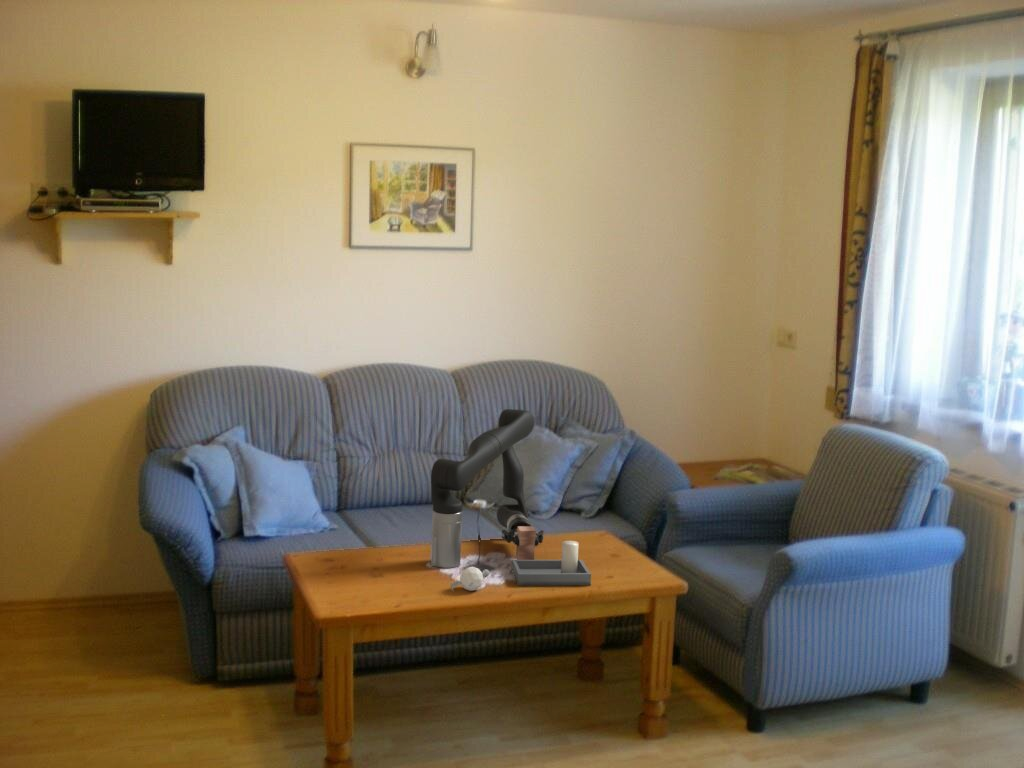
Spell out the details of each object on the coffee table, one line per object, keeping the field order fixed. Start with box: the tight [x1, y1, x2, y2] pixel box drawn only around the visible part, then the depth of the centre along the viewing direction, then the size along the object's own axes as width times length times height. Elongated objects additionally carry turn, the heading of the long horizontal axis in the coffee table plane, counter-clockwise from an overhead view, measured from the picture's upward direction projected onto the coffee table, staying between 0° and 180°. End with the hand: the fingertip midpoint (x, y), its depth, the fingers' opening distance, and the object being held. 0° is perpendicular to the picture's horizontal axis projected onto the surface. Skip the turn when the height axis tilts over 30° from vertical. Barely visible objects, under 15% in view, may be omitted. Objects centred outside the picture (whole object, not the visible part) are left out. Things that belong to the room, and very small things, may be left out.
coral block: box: [515, 525, 537, 560], centre depth 346 cm, size 5×5×10 cm
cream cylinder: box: [560, 540, 580, 573], centre depth 337 cm, size 5×5×10 cm
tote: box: [511, 559, 592, 587], centre depth 336 cm, size 22×14×4 cm, turn 98°
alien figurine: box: [449, 566, 490, 593], centre depth 322 cm, size 7×7×12 cm
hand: (527, 543), depth 343 cm, fingers closed on coral block, 5 cm apart
